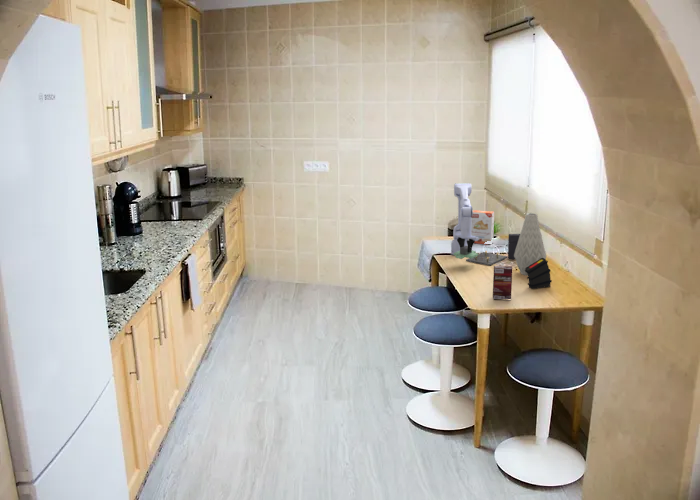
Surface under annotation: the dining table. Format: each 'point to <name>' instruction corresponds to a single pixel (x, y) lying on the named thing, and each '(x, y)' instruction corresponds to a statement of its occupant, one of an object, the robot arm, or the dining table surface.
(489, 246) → the dining table surface
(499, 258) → the chassis plate
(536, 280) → the magazine
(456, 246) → the robot arm
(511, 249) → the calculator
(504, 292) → the supplement box
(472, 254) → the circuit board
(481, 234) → the cracker box
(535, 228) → the vase
